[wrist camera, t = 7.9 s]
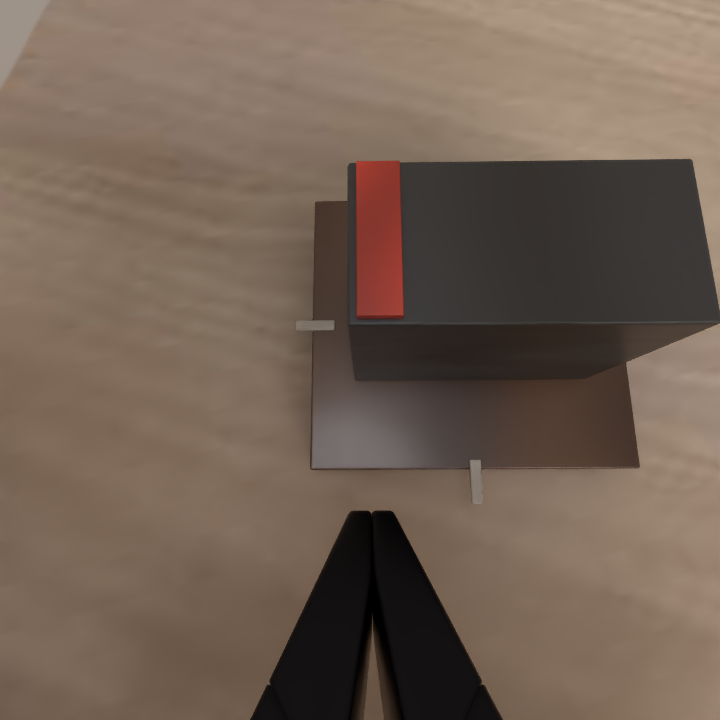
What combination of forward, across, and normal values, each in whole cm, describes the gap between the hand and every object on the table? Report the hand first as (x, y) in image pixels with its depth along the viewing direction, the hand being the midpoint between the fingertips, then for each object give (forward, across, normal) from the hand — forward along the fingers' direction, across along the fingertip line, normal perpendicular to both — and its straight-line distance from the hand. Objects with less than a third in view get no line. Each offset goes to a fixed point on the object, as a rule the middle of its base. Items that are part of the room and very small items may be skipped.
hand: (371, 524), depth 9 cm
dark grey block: (+9, -3, 0) cm, 10 cm away
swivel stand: (+10, -4, +2) cm, 11 cm away
